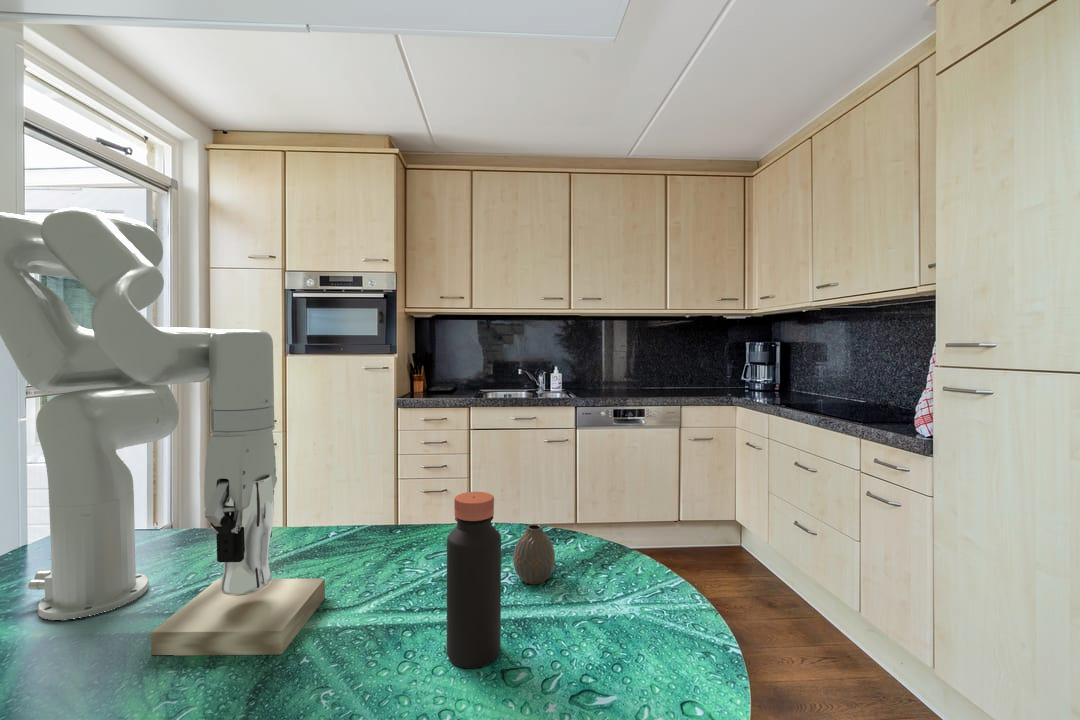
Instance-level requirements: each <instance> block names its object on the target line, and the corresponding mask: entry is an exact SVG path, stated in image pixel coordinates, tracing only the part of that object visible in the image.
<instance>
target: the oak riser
mask: <svg viewBox="0 0 1080 720" xmlns="http://www.w3.org/2000/svg"><path fill="white" fill-rule="evenodd" d="M222 579H223V578H217V579H216V580H214V582H212V583H211V584H210V585H208V586H207V587H206V588H205V589H203V590H202V591H201V592H199V593H198V594H197V595H196V596H195V597H193V598H192V599H191V600H189V601H188V602H187V603H185V604H184V605H183V606H182V607H181V608H178V610H177V611H175V612H174V613H173V614H172V615H171V616H169V617H168V618H167V619H165V620H164V621H163V622H162V623H160V624H159V625H157V626H156V627H155V628H154V629H153V630H152V631H150V655H174V656H255V655H257V656H258V655H259V656H260V655H264V656H266V655H267V656H268V655H270V656H272V655H273V656H275V655H276V656H277V655H279V656H280V655H281V656H282V655H283V654H284V652H285V651H286V650H287V649H288V647H289V646H290V644H291V643H292V641H293V640H294V639H295V638H296V637H297V635H298V634H299V632H301V630H302V629H303V627H304V626H305V625H306V623H307V622H308V621H309V619H310V618H311V617H312V615H313V614H314V613H315V612H316V611H317V609H318V608H319V606H320V605H321V604H322V602H323V601H324V600H325V598H326V587H325V586H326V584H325V583H326V578H272V580H271V583H270V584H269V585H268V586H267V587H265V588H264V589H262V590H260V591H257V592H254V593H251V594H247V595H241V596H229V595H225V594H223V593H222V592H221V584H222Z"/></svg>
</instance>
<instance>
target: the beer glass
mask: <svg viewBox="0 0 1080 720" xmlns="http://www.w3.org/2000/svg"><path fill="white" fill-rule="evenodd" d="M274 495H275V493H274V494H273V485H272V475H271V474H269V477H268V478H266V479H263V480H260V481H256V482H253V489H252V494H251V499H250V503H249V506H248V507H247V508H245V509H243V517H242V522H241V527H240V531H243V530H244V559H243V560H242V561H241V562H223V573H222V578H221V579H222V584H221V592H222V593H223V594H225V595H229V596H241V595H247V594H251V593H254V592H257V591H260V590H262V589H264V588H265V587H267V586H268V585H269V584H270V583H271V580H272V579H273V578H272V572H271V569H270V563H269V548H270V547H269V546H270V541H271V538H270V536H271V531H272V532H273V523H274V516H275V515H274V514H275V499H274V497H275V496H274ZM234 506H235V501H232V499H231V497H230V498H229V499H228V500H227V501H226V503H225V505H224V507H234ZM225 516H228V517H229V518H230V519H231V520H232V521H233V518H234V513H225Z"/></svg>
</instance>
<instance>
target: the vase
mask: <svg viewBox="0 0 1080 720" xmlns="http://www.w3.org/2000/svg"><path fill="white" fill-rule="evenodd" d="M512 559H513V560H512V561H513V567H514V570H515V573H516V575H517V576H518V578H519V579H520V580H521V581H522V582H524V583H525V584H526V583H527V584H530V585H538V584H539V585H540V584H542V583H544V582H546V581H547V580H548V579H549V578H550V576H551V575H552V574H553V572H554V571H553V570H554V567H555V564H556V563H555V561H556V553H555V548H554V545H553V543H552V541H551V539H550V538H549V537H548V535H547V534H546V533H545V532H544V529H543V527H542V525H541V524H536V523H533V524H529V525H527V527H526V529H525V531H524V532H523V534H522V535H521V536H520V537H519V538H518V539H517V541H516V543H515V546H514V549H513V554H512Z"/></svg>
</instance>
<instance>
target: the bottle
mask: <svg viewBox="0 0 1080 720" xmlns="http://www.w3.org/2000/svg"><path fill="white" fill-rule="evenodd" d="M494 515H495V497H494V495H493V494H491V493H489V492H485V491H467V492H462V493H460V494H457V495H456V496H455V497H454V520H455V522H456V526H455V527H454V528H453V529H452V531H451V532H449V534H448V535H447V538H446V656H447V658H448V661H450V663H452V664H454V665H455V666H457V667H460V668H463V669H464V668H466V669H478V668H482V667H485V666H487V665H489V664H491V663H494V661H496V659H497V658H498V657H499V655H500V652H501V640H502V639H501V638H502V637H501V635H502V634H501V633H502V632H501V627H502V626H501V623H502V622H501V621H502V620H501V618H502V617H501V616H502V614H501V611H502V610H501V609H502V606H501V605H502V604H501V603H502V591H501V590H502V583H501V582H502V534H501V533H500V532H499V531H498V529H496V528H495V527H494V525H492V521H493V519H494Z"/></svg>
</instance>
